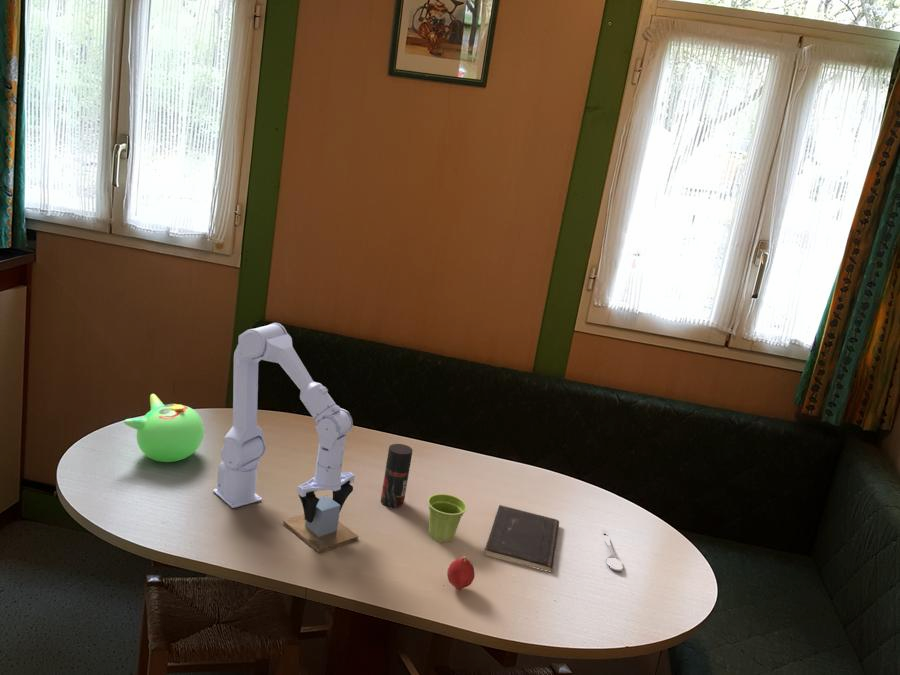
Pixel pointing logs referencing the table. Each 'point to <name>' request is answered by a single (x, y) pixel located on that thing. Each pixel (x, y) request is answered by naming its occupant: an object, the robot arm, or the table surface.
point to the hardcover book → (523, 538)
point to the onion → (461, 573)
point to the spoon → (613, 557)
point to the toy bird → (168, 431)
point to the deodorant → (396, 475)
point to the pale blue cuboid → (324, 517)
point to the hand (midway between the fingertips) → (322, 516)
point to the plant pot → (444, 516)
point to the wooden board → (322, 542)
